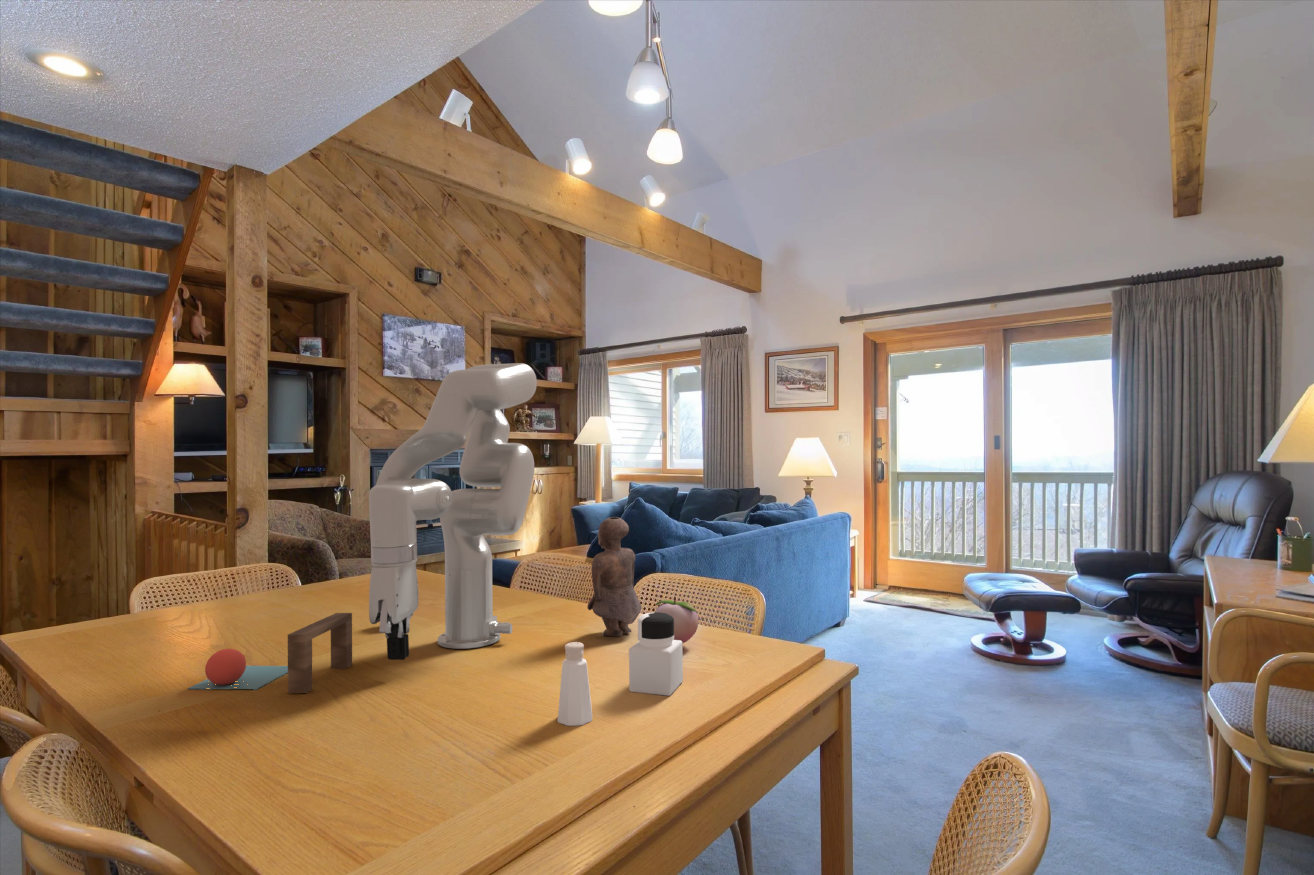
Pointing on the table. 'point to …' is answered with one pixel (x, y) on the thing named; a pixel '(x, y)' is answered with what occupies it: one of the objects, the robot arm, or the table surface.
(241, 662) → the ball
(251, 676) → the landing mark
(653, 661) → the medicine bottle
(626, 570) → the clay figurine
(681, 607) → the decorative fruit
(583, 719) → the pepper shaker
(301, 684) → the bridge
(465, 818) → the table surface
